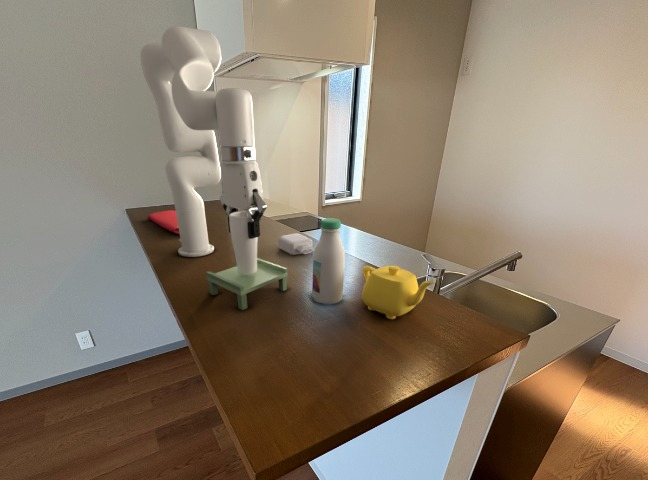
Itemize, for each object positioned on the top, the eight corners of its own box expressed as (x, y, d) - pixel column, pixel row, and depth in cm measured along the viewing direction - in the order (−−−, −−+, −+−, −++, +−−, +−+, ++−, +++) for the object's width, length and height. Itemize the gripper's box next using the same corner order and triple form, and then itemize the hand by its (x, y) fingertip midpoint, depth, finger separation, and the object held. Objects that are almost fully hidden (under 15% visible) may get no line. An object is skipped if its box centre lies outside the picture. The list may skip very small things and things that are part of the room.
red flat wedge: (177, 214, 171) (176, 207, 169) (208, 230, 141) (207, 222, 140) (147, 219, 163) (145, 211, 161) (173, 237, 133) (171, 228, 132)
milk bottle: (344, 293, 84) (350, 217, 75) (339, 306, 77) (344, 225, 68) (316, 289, 86) (318, 215, 77) (308, 302, 80) (310, 222, 70)
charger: (299, 261, 106) (278, 248, 118) (322, 256, 110) (299, 244, 121) (299, 247, 104) (277, 236, 115) (322, 242, 108) (299, 232, 119)
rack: (208, 293, 85) (205, 272, 82) (254, 276, 95) (252, 256, 92) (242, 310, 76) (240, 287, 73) (288, 289, 87) (287, 268, 84)
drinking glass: (256, 277, 80) (252, 217, 73) (230, 276, 81) (224, 216, 74) (263, 268, 86) (260, 211, 79) (239, 266, 87) (234, 210, 80)
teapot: (438, 316, 73) (448, 273, 68) (411, 334, 66) (420, 287, 62) (373, 290, 85) (378, 252, 80) (346, 303, 79) (349, 262, 74)
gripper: (277, 155, 67) (279, 238, 76) (227, 153, 78) (234, 225, 86) (250, 157, 63) (256, 245, 71) (201, 155, 73) (211, 231, 82)
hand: (244, 234), depth 79 cm, fingers closed on drinking glass, 6 cm apart
